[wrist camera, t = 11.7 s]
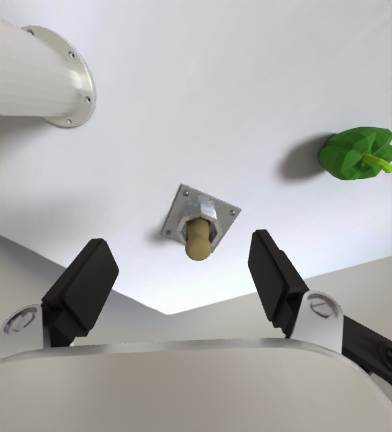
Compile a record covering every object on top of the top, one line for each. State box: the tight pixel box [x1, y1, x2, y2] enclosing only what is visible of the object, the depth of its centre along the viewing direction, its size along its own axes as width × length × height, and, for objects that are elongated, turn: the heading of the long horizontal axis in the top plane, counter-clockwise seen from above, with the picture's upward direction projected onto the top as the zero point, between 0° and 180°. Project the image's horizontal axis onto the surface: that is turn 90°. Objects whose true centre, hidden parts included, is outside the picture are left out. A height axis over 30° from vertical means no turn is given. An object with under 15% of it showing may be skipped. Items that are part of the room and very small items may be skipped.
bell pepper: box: [319, 127, 392, 180], centre depth 28 cm, size 8×8×10 cm
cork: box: [185, 217, 211, 261], centre depth 35 cm, size 6×6×11 cm
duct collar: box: [161, 184, 241, 253], centre depth 39 cm, size 15×15×5 cm
